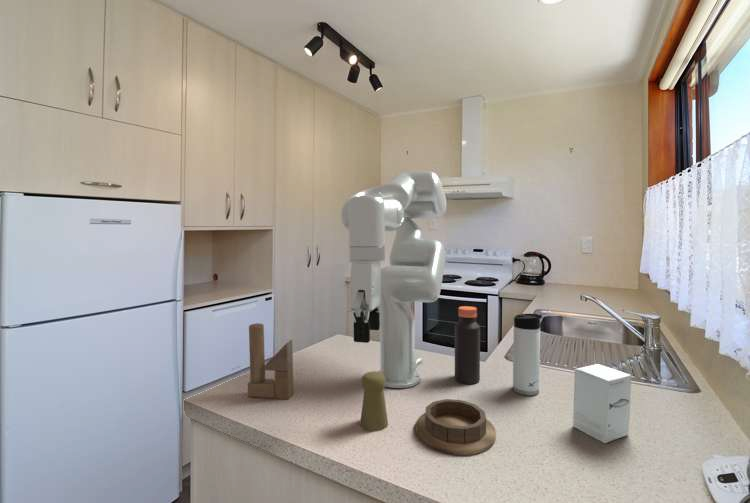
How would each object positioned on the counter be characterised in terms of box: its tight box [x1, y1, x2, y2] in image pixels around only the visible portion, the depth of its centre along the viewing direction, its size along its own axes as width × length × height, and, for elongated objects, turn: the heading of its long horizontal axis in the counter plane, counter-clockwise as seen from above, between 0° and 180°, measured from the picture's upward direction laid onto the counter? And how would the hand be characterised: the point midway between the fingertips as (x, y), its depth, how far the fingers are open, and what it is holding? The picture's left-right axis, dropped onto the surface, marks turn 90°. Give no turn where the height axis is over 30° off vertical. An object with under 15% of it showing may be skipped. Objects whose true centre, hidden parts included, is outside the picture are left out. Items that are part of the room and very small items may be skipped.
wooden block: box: [247, 323, 294, 400], centre depth 94 cm, size 4×11×18 cm, turn 82°
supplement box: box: [572, 363, 632, 444], centre depth 76 cm, size 7×7×13 cm
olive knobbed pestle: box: [359, 371, 389, 432], centre depth 80 cm, size 6×6×11 cm
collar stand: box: [415, 398, 497, 456], centre depth 77 cm, size 16×16×4 cm
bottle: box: [454, 305, 481, 385], centre depth 103 cm, size 7×7×20 cm
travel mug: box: [512, 313, 543, 397], centre depth 95 cm, size 6×7×20 cm
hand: (367, 335), depth 79 cm, fingers open, 9 cm apart
